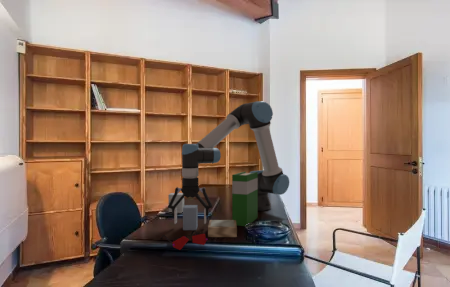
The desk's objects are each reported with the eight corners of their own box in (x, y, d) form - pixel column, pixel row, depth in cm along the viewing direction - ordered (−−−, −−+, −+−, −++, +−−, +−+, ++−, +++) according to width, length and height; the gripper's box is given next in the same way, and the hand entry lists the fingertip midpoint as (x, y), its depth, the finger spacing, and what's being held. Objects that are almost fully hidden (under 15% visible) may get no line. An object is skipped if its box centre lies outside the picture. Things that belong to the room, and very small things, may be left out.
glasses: (172, 252, 106) (172, 238, 106) (160, 239, 121) (160, 227, 121) (208, 246, 113) (208, 232, 113) (192, 234, 127) (192, 222, 127)
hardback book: (244, 216, 158) (244, 171, 158) (257, 217, 155) (257, 172, 155) (232, 224, 141) (232, 174, 142) (247, 226, 139) (246, 175, 139)
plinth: (236, 228, 135) (236, 219, 135) (236, 237, 123) (236, 226, 123) (209, 228, 135) (209, 219, 135) (208, 237, 123) (207, 226, 123)
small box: (184, 211, 171) (184, 192, 171) (182, 213, 165) (182, 194, 165) (171, 210, 171) (171, 192, 171) (168, 213, 166) (168, 194, 166)
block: (197, 226, 139) (197, 205, 139) (196, 230, 133) (196, 207, 133) (184, 226, 139) (184, 205, 139) (182, 230, 133) (182, 207, 133)
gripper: (217, 176, 140) (217, 221, 140) (165, 176, 140) (165, 221, 140) (217, 178, 132) (217, 225, 132) (161, 178, 133) (161, 225, 132)
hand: (190, 223), depth 136 cm, fingers open, 13 cm apart
